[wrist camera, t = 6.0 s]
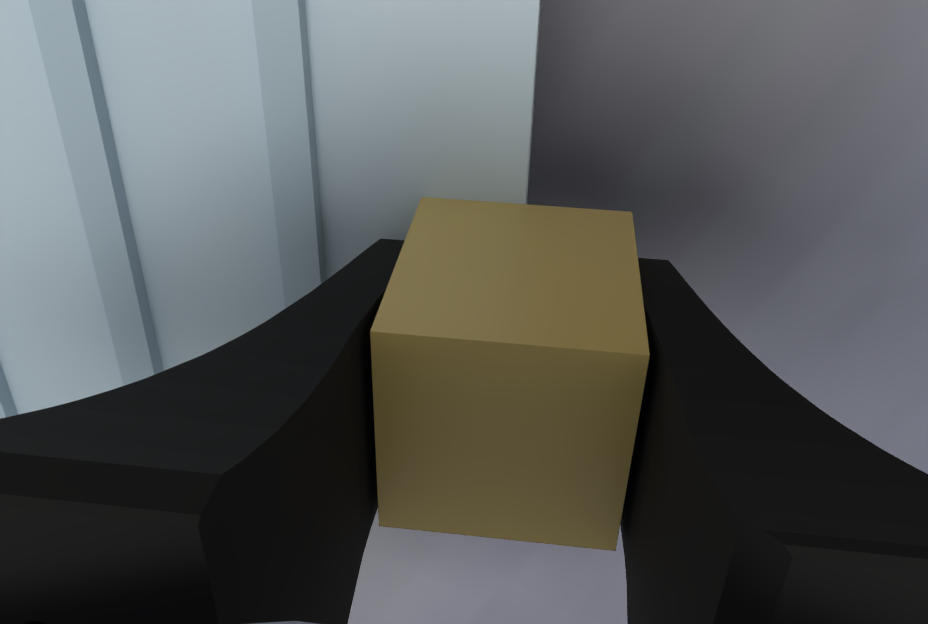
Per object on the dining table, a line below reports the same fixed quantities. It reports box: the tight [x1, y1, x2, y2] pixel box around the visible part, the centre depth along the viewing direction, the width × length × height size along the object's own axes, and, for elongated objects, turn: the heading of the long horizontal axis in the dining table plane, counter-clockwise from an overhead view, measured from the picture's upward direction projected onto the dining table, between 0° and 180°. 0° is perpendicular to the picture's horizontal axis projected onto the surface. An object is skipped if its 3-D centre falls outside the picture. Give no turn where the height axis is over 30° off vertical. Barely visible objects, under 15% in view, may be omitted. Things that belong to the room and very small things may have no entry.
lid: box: [0, 0, 650, 551], centre depth 12 cm, size 10×14×4 cm
